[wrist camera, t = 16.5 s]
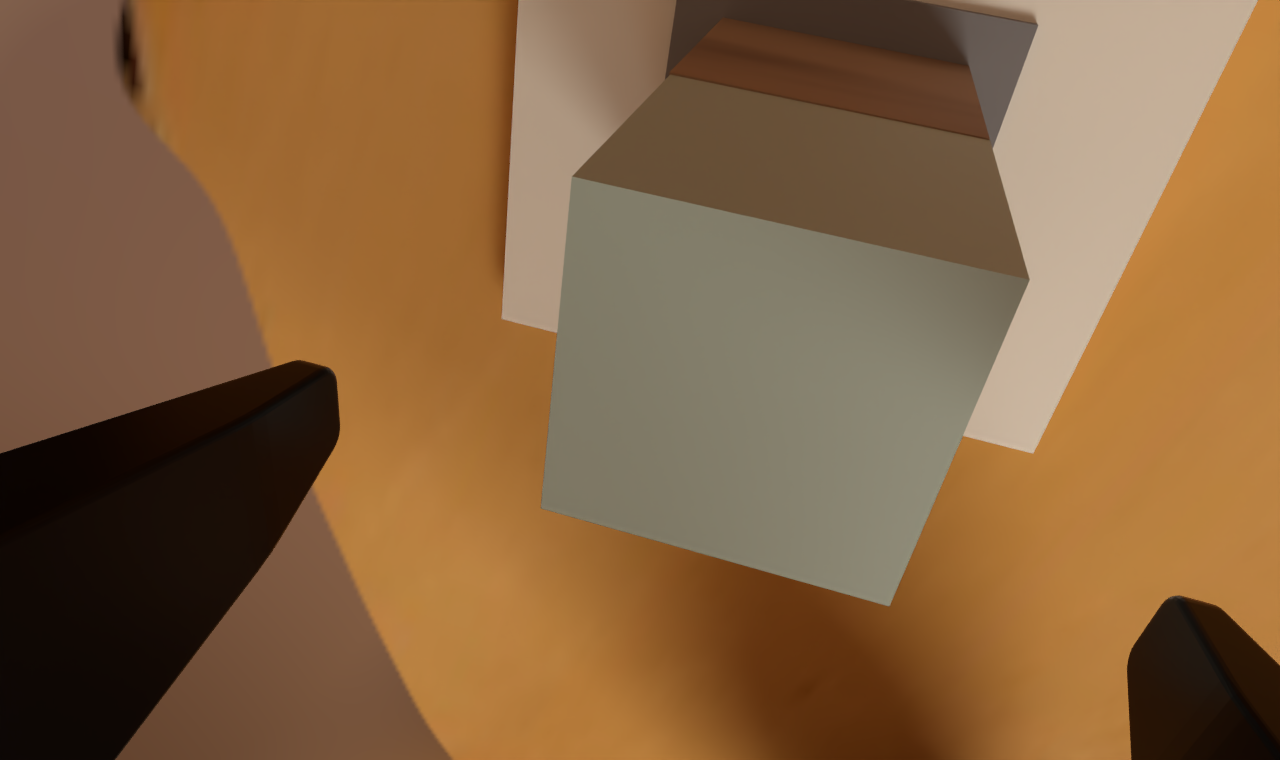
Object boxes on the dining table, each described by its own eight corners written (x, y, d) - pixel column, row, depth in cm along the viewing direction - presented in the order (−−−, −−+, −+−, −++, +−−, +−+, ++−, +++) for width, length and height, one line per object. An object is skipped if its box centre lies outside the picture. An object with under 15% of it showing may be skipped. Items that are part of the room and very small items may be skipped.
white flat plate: (1028, 431, 22) (1034, 458, 21) (515, 302, 24) (498, 322, 23) (1282, -95, 16) (1307, -90, 15) (547, -216, 18) (526, -218, 17)
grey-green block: (892, 406, 16) (889, 606, 12) (630, 341, 17) (540, 508, 12) (990, 140, 13) (1029, 280, 9) (670, 74, 14) (571, 177, 10)
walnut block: (894, 288, 20) (892, 405, 16) (683, 239, 21) (629, 339, 17) (969, 65, 17) (989, 138, 13) (723, 17, 18) (669, 72, 14)
